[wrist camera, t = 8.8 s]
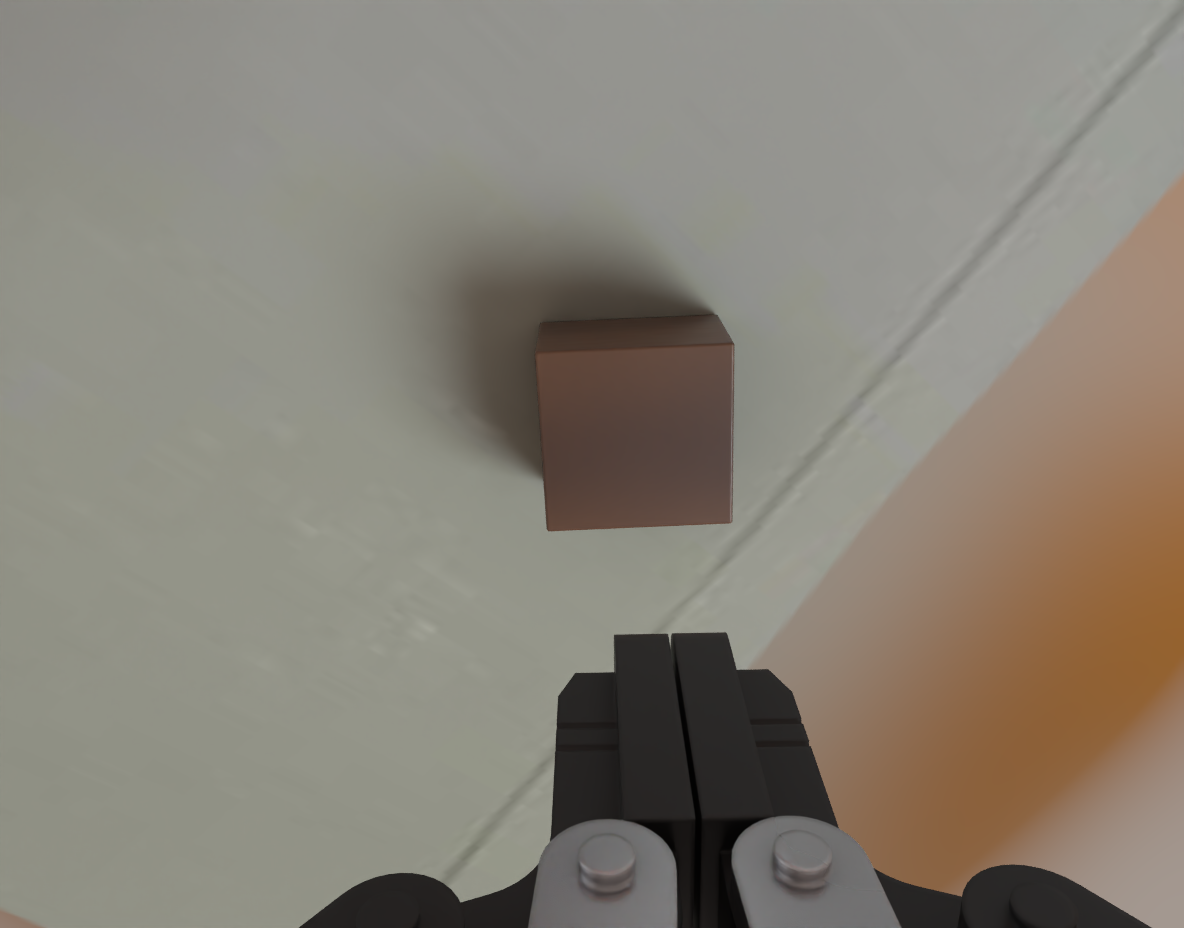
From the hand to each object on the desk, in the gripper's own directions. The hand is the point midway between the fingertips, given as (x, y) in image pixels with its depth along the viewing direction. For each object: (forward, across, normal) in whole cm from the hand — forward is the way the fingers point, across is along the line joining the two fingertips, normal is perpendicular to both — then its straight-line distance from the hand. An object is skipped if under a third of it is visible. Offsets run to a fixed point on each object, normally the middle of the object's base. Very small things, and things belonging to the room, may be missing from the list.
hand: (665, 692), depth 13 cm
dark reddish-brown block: (+16, 0, +1) cm, 16 cm away
